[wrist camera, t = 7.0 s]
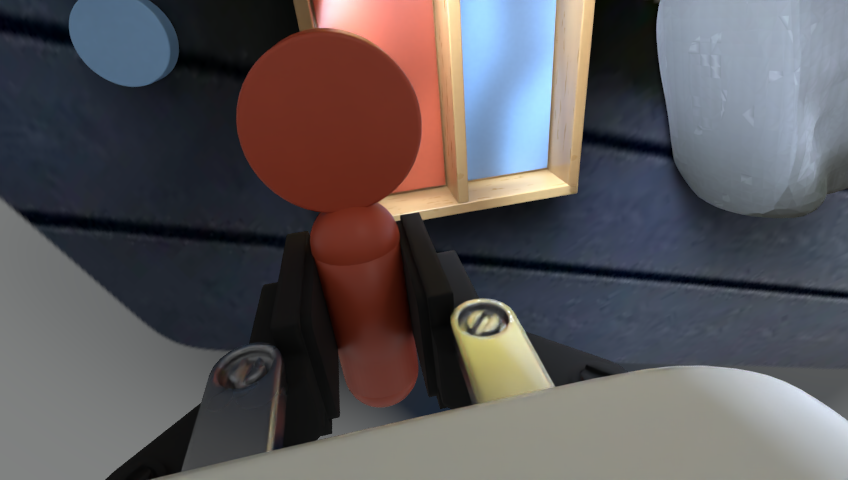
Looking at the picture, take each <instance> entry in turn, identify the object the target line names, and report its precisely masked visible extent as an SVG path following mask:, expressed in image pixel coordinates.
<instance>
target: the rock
mask: <svg viewBox="0 0 848 480" xmlns="http://www.w3.org/2000/svg"><path fill="white" fill-rule="evenodd" d="M656 30H657V49H658V60H659V67H660V73H661V79H662V84H663V90H664V95H665V101H666V107H667V113H668V120H669V128H670V137H671V144H672V152H673V158H674V161H675V164H676V166H677V168H678V170H679V171H680V173H681V175H682V176H683V178H684V179H685V181H686V182H687V184H688V185H689V186H690V188H691V189H692V190H693V191H694V192H695V194H696V195H697V196H698V197H699V198H701V199H703V200H704V201H706V202H707V203H709V204H711V205H713V206H715V207H718V208H721V209H723V210H727V211H730V212H734V213H738V214H743V215H748V216H755V217H767V218H795V217H801V216H805V215H807V214H809V213H811V212H813V211H815V210H816V209H817V208H818V207H819V206H820V205H821V204H822V203H823V202H824V200H825V198H826V195H827V194H830V193H834V192H838V191H841V190H844V189H846V188H848V0H660V3H659V8H658V14H657V27H656Z"/></svg>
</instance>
